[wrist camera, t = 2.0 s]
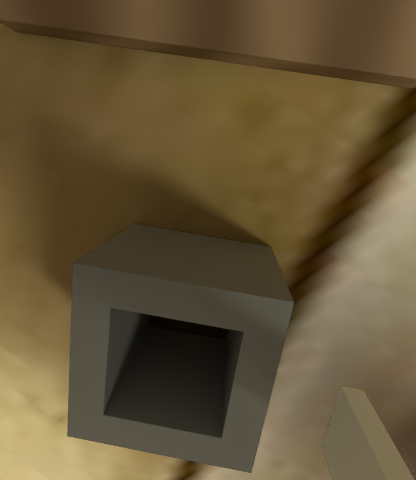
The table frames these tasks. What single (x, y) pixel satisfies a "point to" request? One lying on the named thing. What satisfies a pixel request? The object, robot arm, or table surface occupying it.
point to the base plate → (243, 32)
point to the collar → (176, 345)
